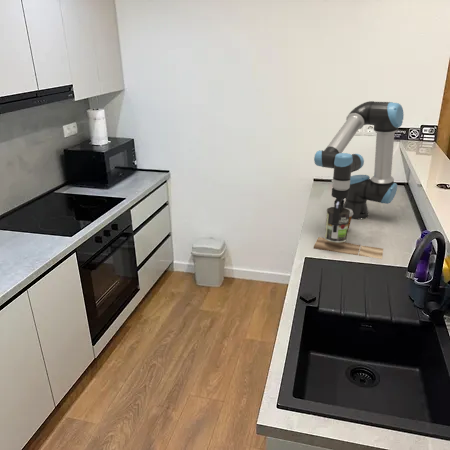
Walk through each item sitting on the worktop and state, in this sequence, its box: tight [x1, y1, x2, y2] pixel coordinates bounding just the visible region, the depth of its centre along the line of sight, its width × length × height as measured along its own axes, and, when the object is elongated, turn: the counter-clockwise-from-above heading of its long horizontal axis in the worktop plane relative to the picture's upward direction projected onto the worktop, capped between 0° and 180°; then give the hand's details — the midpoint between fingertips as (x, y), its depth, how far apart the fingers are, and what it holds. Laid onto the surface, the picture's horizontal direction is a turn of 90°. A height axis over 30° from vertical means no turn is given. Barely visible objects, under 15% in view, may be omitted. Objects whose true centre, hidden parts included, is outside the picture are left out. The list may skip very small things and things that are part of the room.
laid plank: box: [358, 244, 384, 260], centre depth 197 cm, size 12×10×1 cm
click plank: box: [313, 236, 361, 256], centre depth 202 cm, size 12×20×1 cm, turn 68°
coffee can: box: [324, 206, 350, 243], centre depth 199 cm, size 10×10×14 cm
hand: (336, 234), depth 200 cm, fingers closed on coffee can, 10 cm apart
